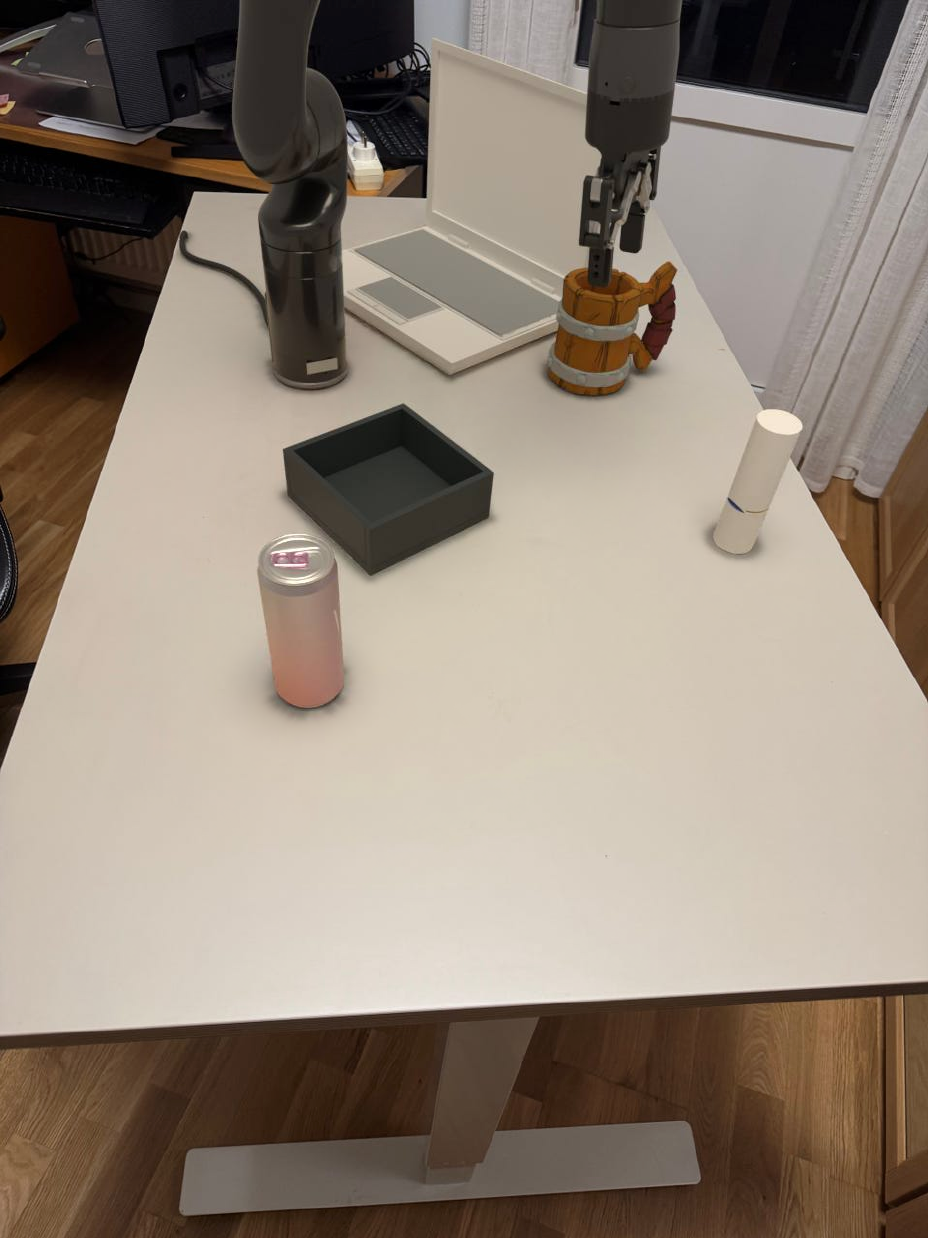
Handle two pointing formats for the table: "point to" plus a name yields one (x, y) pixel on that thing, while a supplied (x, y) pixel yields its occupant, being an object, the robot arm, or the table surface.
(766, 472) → the tube
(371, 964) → the table surface
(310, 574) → the beverage can
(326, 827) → the table surface
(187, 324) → the table surface
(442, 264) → the laptop
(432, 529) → the bin
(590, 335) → the mug
